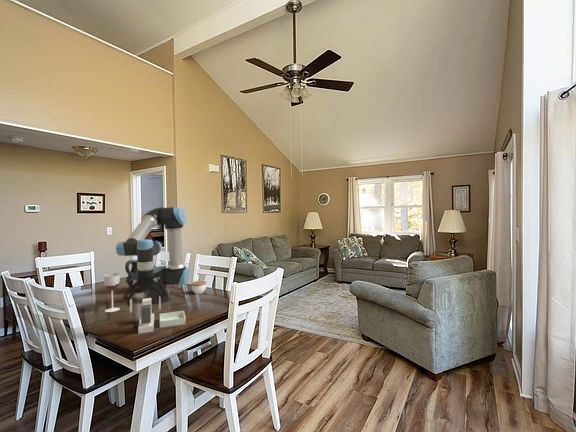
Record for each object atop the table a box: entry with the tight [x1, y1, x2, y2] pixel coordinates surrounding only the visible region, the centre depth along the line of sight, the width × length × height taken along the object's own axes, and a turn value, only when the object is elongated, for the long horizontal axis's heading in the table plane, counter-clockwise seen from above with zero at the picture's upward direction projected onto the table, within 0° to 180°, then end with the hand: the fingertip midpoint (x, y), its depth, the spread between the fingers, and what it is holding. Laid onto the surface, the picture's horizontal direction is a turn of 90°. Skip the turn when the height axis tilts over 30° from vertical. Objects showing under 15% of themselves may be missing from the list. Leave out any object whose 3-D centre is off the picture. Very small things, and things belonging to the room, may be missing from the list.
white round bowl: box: [191, 280, 207, 295], centre depth 227 cm, size 11×11×9 cm
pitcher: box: [124, 259, 148, 294], centre depth 232 cm, size 21×22×25 cm
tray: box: [159, 310, 187, 329], centre depth 168 cm, size 13×13×4 cm
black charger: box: [140, 305, 152, 324], centre depth 157 cm, size 5×4×9 cm
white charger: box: [141, 297, 153, 314], centre depth 169 cm, size 5×4×9 cm
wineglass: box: [103, 272, 121, 313], centre depth 189 cm, size 9×10×22 cm
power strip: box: [137, 313, 155, 335], centre depth 166 cm, size 26×7×4 cm, turn 23°
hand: (145, 310), depth 157 cm, fingers open, 13 cm apart
